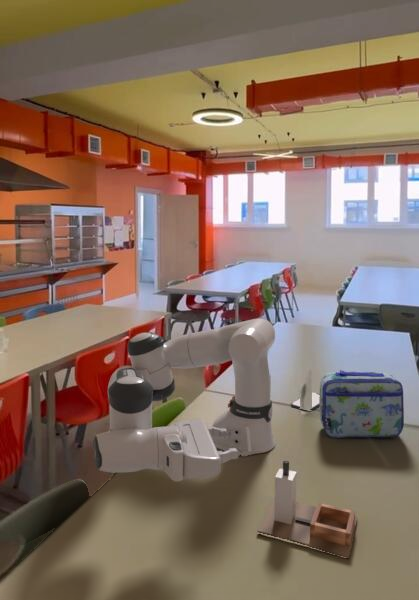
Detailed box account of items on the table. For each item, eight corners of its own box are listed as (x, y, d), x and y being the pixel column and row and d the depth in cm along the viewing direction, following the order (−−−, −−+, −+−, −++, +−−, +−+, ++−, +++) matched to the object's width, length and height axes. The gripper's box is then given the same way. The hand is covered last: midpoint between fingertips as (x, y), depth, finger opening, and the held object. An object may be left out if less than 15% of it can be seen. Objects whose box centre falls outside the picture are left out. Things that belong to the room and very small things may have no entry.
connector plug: (274, 520, 110) (275, 464, 107) (278, 510, 113) (279, 456, 111) (291, 524, 108) (292, 468, 105) (295, 514, 112) (296, 459, 109)
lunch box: (320, 439, 151) (322, 377, 148) (316, 425, 162) (318, 366, 158) (404, 442, 149) (408, 379, 145) (394, 427, 159) (398, 368, 155)
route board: (257, 534, 106) (257, 518, 105) (274, 500, 119) (274, 486, 118) (348, 559, 98) (349, 542, 98) (357, 520, 111) (357, 504, 110)
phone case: (309, 414, 172) (331, 400, 184) (309, 409, 172) (331, 396, 184) (289, 407, 178) (311, 395, 190) (289, 403, 178) (311, 391, 189)
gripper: (165, 438, 113) (221, 434, 115) (175, 486, 93) (243, 480, 95) (165, 413, 111) (222, 410, 114) (175, 456, 92) (244, 451, 94)
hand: (232, 442), depth 105 cm, fingers open, 8 cm apart
